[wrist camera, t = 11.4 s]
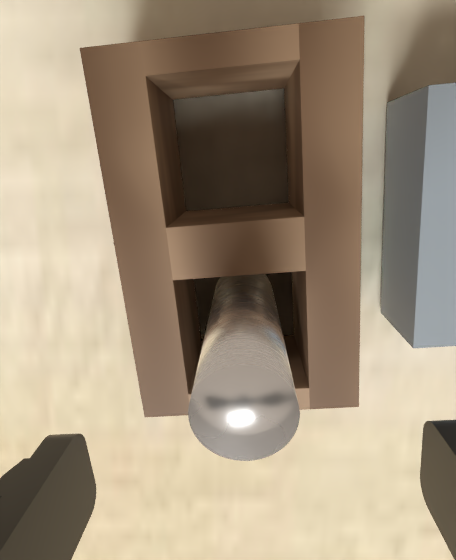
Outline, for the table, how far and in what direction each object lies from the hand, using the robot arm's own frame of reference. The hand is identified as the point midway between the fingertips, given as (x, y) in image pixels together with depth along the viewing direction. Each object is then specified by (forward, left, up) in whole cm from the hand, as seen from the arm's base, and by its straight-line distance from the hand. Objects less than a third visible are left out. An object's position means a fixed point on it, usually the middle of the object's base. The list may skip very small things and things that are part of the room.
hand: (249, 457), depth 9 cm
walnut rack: (0, -4, -11) cm, 12 cm away
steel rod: (0, 0, -11) cm, 11 cm away
